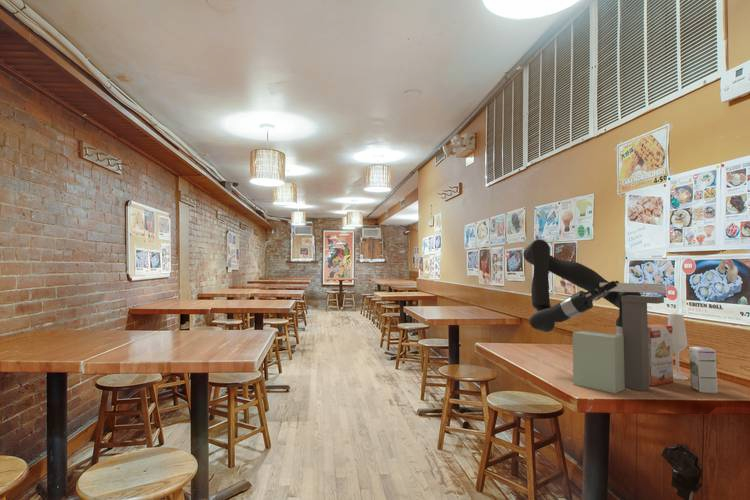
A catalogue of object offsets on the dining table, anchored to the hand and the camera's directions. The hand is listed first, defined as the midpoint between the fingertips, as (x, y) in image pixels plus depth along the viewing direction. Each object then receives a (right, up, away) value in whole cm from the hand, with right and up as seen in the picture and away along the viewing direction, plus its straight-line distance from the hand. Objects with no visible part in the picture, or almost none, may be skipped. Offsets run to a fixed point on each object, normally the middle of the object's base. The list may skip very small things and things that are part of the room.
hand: (617, 283), depth 153 cm
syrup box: (+25, -36, -9) cm, 45 cm away
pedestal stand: (+5, -36, -8) cm, 37 cm away
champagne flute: (+29, -37, +9) cm, 48 cm away
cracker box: (+15, -37, +1) cm, 40 cm away
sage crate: (-9, -36, -5) cm, 38 cm away
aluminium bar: (+3, -3, -4) cm, 5 cm away
